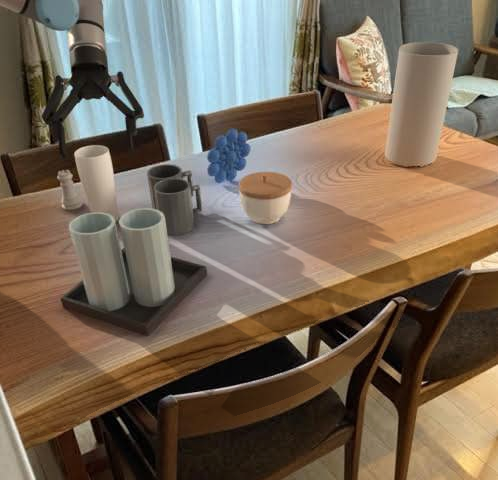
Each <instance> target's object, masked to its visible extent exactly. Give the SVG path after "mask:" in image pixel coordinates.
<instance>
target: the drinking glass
mask: <svg viewBox="0 0 498 480" xmlns="http://www.w3.org/2000/svg"><path fill="white" fill-rule="evenodd" d="M73 155H74V161H75V165H76V170H77V173H78V178H79V180H80V183H81V186H82V188H83V189H82V190H83V192H84V194H85V198H86V201H87V204H88V207H89V210H90V213H93V212H103V213H107V214H110V215H112V216H113V217H114V219H115V223H116V222H117V221H119V219H120V213H119V209H118V202H117V201H118V200H117V193H116V182H115V175H114V173H115V172H114V166H113V161H112V157H111V153H110V148H109V147H107V146H105V145H100V144H92V145H86V146H82V147H79V148H78V149H76V150H75V151H74V153H73Z"/></svg>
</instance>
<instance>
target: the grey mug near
mask: <svg viewBox="0 0 498 480" xmlns="http://www.w3.org/2000/svg"><path fill="white" fill-rule="evenodd" d="M153 188H154V195H155V201H156V208H157V210H159V211H161V212H162V213H163V214H164V216H165V222H166V229H167V236H182V235H186V234H188V233H190V232H191V231H193V230H194V228H195V219H194V215H195V214H197V213H201V212H202V211H203V205H202V195H201V186H200V184H195V185H194V184H193V186H191V187H190V183H189V182H188V180H186V179H184V178H183V179H179V178H171V179H165V180H161V181H159V182H157V183H156V184H155V185H154V187H153ZM192 191H193V192H195V193H194V194H195V201H196V207H194V208H193V201H192V200H193V199H192V198H193V197H191V192H192Z"/></svg>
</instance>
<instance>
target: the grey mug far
mask: <svg viewBox="0 0 498 480" xmlns="http://www.w3.org/2000/svg"><path fill="white" fill-rule="evenodd" d="M146 175H147V182H148V188H149V195H150V200H151V208H152V209H156V210H157V208H156V201H155V195H154V188H153V187H154V185H155V184H156V183H157V182H159V181H161V180H165V179H171V178H179V179H184V178H185V177H186V178H187V180H186V181H188V182H189V183H190V187H191V186H194V184H193V183H194V182H193V173H192V170H186V171H183V169H182V167H180V165H179V166H178V165H176V164H159V165H155V166H152V167H150V168H149V169H148V170H147V171H146ZM194 192H195V191H192V192H191V198H194V195H195V193H194Z"/></svg>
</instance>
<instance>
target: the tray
mask: <svg viewBox="0 0 498 480" xmlns="http://www.w3.org/2000/svg"><path fill="white" fill-rule="evenodd" d="M121 252H122V257H123V262H124V266H125V271H126V276H127V281H128V286H129V291H130V295H131V297H130V300H129V302H128V303H127V304H126V305H124V306H123V307H121V308H119V309H116V310H113V311H107V310H104V309H101V308H98V307H95V306H92V305H89V301H88V297H87V294H86V290H85V286H84V283H83V280H81V281H80V282H78V283H77V284H76V285H75V286H74V287H72V288H71V289H70V290H69V291H67V292H66V293H64V294H63V295H62V296H61V297H60V299H59V300H60V302H61V306H62V308H63V309H66V310H69V311H73V312H75V313H79V314H82V315H84V316H87V317H90V318H93V319H97V320H99V321H102V322H105V323H107V324H111V325H114V326H117V327H120V328H123V329H125V330H129V331H132V332H133V333H134V332H135V333H138V334H140V335H144V336H146V337H149V336H150V335H151V334H152V333H153V332H154V331H155V330H156V329H157V328H158V327H159V326H160V324H161V323H163V322H164V320H165V319H166V318H168V317H169V315H171V313H172V312H173V311H174V310H175V309H176V308H177V307H178V306H179V305H180V304H181V303H182V302H183V301H184V300H185V299H186V298H187V297H188V296H189V295H190V294H191V293H192V292H193V290H195V289H196V288H197V287H198V285H200V283H202V282H203V280H205V278H207V276H208V271H207V270H208V269H207V266H206V265H203V264H199V263H195V262H192V261H188V260H184V259H180V258H178V257H173V256H170V257H171V264H172V271H173V279H174V286H175V294H174V295H173V296H172V297H171V298H170V299H169V300H168V301H167V302H166V303H165V304H164V305H161V306H157V307H146V306H142V305H140V304H138V303H137V302H136V301H135V298H134V293H133V288H132V283H131V278H130V273H129V269H128V264H127V259H126V254H125V249H124V247H123V248H121Z"/></svg>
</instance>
